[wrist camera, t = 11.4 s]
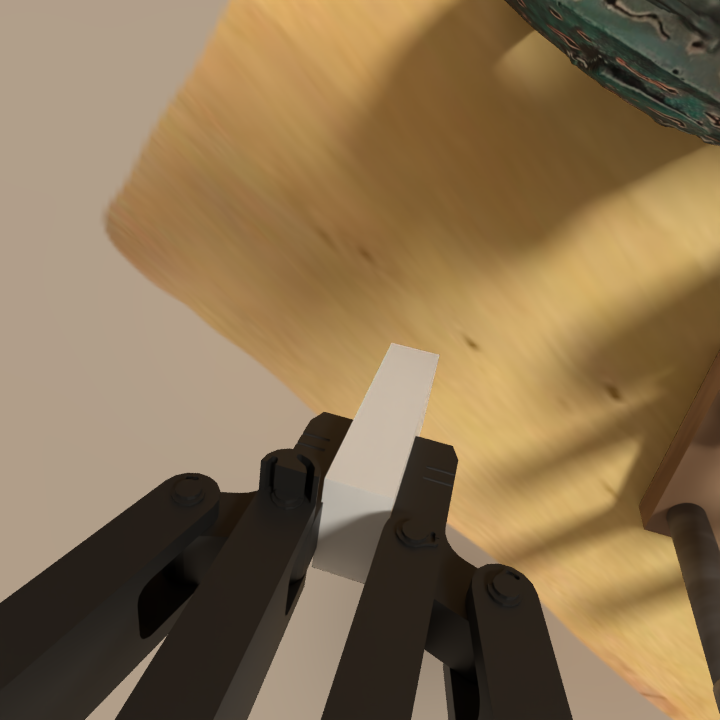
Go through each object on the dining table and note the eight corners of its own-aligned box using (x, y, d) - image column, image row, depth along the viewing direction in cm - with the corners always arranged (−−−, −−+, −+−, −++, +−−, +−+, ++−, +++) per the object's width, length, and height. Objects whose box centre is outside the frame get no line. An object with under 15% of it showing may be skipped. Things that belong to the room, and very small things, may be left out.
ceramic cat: (819, 71, 36) (1078, 91, 19) (740, 168, 39) (898, 259, 22) (537, -86, 36) (538, -208, 19) (482, 24, 39) (441, 5, 22)
